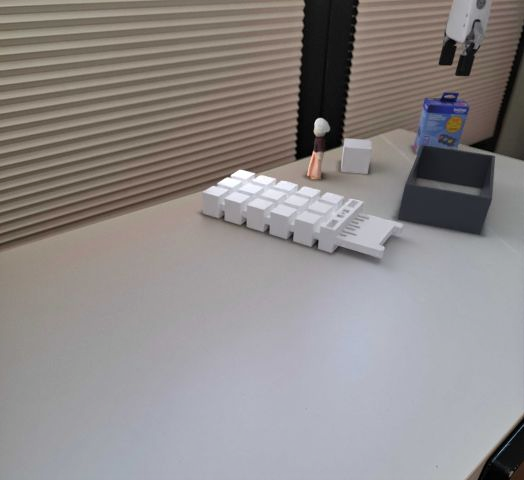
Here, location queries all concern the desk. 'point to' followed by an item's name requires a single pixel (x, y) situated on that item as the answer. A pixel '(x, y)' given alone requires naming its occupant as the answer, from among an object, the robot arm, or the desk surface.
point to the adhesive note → (356, 156)
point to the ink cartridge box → (441, 122)
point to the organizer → (298, 213)
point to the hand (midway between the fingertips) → (453, 70)
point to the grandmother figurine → (318, 148)
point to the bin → (444, 201)
